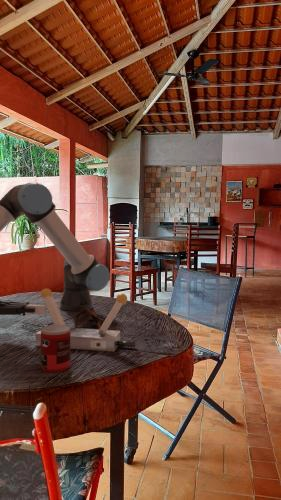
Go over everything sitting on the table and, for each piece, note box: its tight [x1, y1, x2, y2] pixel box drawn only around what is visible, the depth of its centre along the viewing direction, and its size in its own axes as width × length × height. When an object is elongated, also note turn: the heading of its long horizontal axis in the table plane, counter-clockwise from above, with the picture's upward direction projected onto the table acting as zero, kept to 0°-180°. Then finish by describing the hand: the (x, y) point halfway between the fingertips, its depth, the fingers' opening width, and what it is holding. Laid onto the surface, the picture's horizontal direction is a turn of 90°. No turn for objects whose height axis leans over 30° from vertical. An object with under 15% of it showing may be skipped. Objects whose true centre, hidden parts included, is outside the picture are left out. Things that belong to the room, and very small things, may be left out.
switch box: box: [35, 327, 137, 353], centre depth 123 cm, size 10×32×4 cm, turn 81°
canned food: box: [40, 324, 71, 373], centre depth 104 cm, size 8×8×11 cm
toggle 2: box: [98, 293, 128, 335], centre depth 122 cm, size 4×4×15 cm
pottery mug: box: [73, 308, 102, 330], centre depth 145 cm, size 12×10×8 cm
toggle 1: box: [40, 287, 67, 326], centre depth 125 cm, size 4×4×15 cm
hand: (45, 309), depth 125 cm, fingers closed
